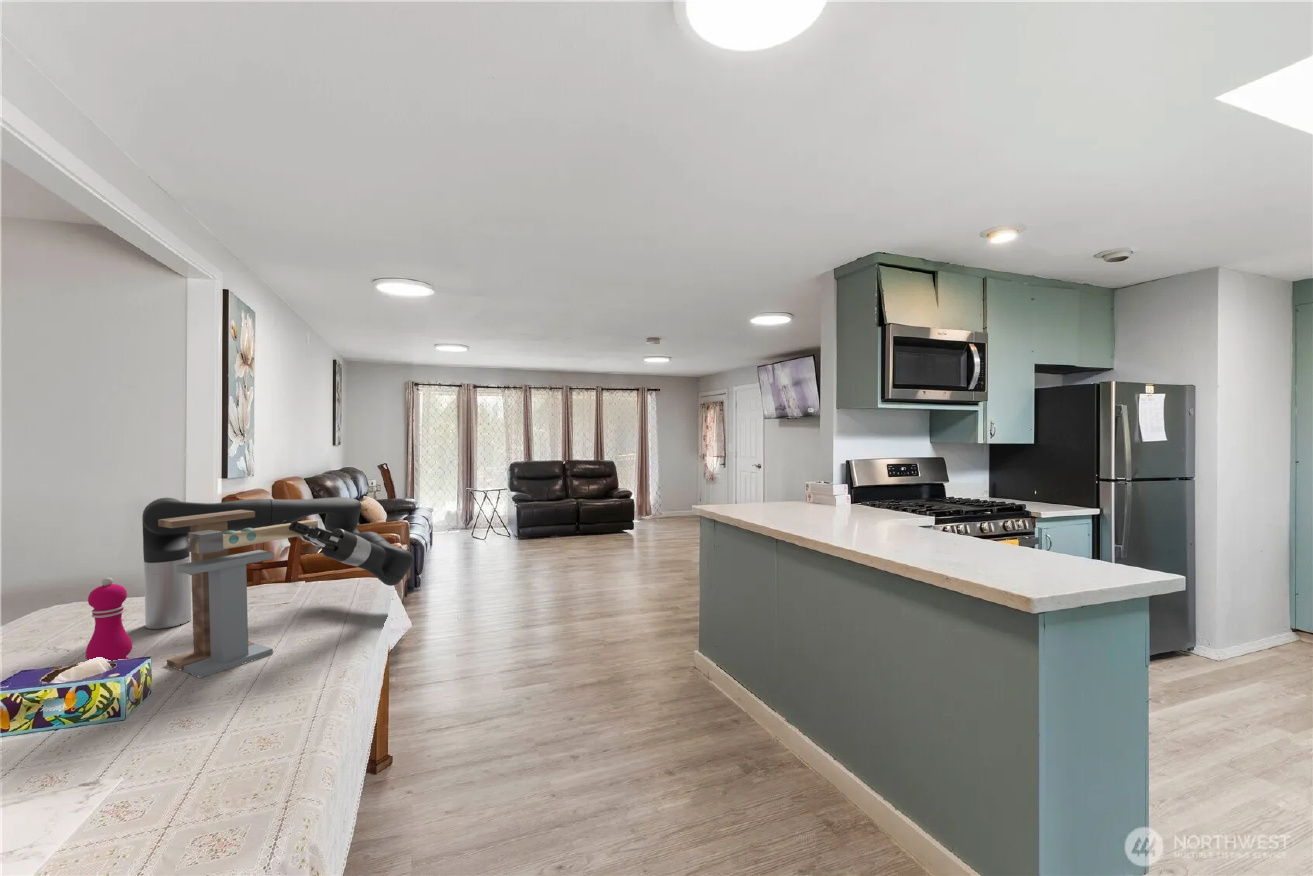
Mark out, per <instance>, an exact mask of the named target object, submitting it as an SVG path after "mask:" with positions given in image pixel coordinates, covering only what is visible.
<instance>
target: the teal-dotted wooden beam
mask: <svg viewBox="0 0 1313 876" xmlns="http://www.w3.org/2000/svg"><path fill="white" fill-rule="evenodd" d="M298 522H299V523H301V524H304V525H306V526H312V527H314V528H315V527H316V528H317V527H318V528H319V520H316V519H308V520H307V519H306V520H298ZM290 524H291V523H287V524H280V525H273V526H267V527H260V528H254V529H253V528H245V529H242V530H241V531H232V530H230V531H226V532H224V533H223V532H222V531H215V530H206V531H199V532H193V533H190V532H188V536H189V550H190V553H191V552H193V553H198V554H205V553H210V552H216V551H222V550H223V549H228V550H229V549H233V548H239V547H244V546H245V547H246V546H249V545H251V546H252V545H256V544H261V543H267V542H272V541H273V542H274V541H278V540H279V541H280V540H285V539H290V538H295V537H296V536H302V534H299V533H297V532H294V531H291V530H289V526H290ZM296 538H297V537H296Z"/></svg>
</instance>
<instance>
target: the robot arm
mask: <svg viewBox="0 0 1313 876" xmlns="http://www.w3.org/2000/svg"><path fill="white" fill-rule="evenodd" d="M361 503H362V502H361V501H359V500H358V499H356V498H352V497H344V496H342V497H341V496H340V497H339V496H336V497H321V498H320V497H319V498H305V499H304V498H303V499H301V498H300V499H284V498H283V499H281V498H280V499H278V498H277V499H276V498H275V499H274V498H253V499H251V498H249V499H247V498H246V499H240V500H239V499H238V500H231V501H230V500H229V501H223V502H216V503H213V502H212V503H210V502H208V503H207V502H206V503H205V502H189V501H188V502H187V501H181V500H179V499H177V498H174V497H173V498H172V497H161V498H160V497H159V498H157V499H155V500H153V501H151V502H149V503H148V504H147V505H146V507H144V509H143V512H142V517H141V519H142V540H143V541H142V544H143V545H142V548H143V549H142V550H143V552H142V553H143V572H144V573H143V574H144V604H145V605H144V609H145V611H144V612H145V613H144V617H145V628H146V629H149V630H159V629H167V628H172V627H177V626H181V625H184V624H186V623H189V622H190V621H191V620H192V581H191V575H189V574H185V573H180V572H176V565H179V564H184V563H190V562H191V552H190V550H189V533H190V526H185V527H178V528H167V527H160V526H158V520H160V519H168V518H177V517H185V516H193V515H202V514H210V513H218V512H227V511H235V510H248V511H255V517H253V518H245V519H238V520H230V521H227V528H228V531H230V530H232V531H241V530H242V529H245V528H253V529H254V528H260V527H267V526H273V525H280V524H287V523H291V524H290V526H289V530H291V531H294V532H297V533H299V534H302V536H296V538H298V539H301V540H302V541H303V542H308V543H311V545H313V546H316V547H321V553H322V555H323V556H324V557H326V558H329V559H332V560H334V561H337V562H340V563H343V564H344V565H345V564H346V565H350V566H354V567H357V568H359V569H362V570H364V571H367V572H369V573H370V574H372V575H373V576H375V577H376V579H378V580H379V581H380V582H381V583H383V584H384V585H386V586H389V587H391V586H396V585H398V584H400V582H401V581H402V580H403V579H404V577H405V576H406V575H407V573H408V572H409V570H410V569H411V568H412V566H413V564H414V561H415V557H414V555H413V554H412V552H410V551H409V550H407V549H404V548H401V547H398V546H395V545H394V544H391V543H390V542H389V541H388V540H386V539H385V538H384V537H383V536H382V535H380V534H379V533H377V532H374V531H363V532H360V531H359V529H358V527H357V526H358V524H359V519H360V513H361V510H362V509H361V508H362V504H361ZM321 514H325V516H324V517H325V519H324V528H325V529H323V528H321V527H319V526H318V527H317V528H316V527H315V528H314V527H312V526H306V525H304V524H301V523H299V521H301V520H302V519H304V518H306V517H309V516H314V515H321ZM188 621H189V622H188ZM180 624H181V625H180Z"/></svg>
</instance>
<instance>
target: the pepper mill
mask: <svg viewBox="0 0 1313 876" xmlns="http://www.w3.org/2000/svg"><path fill="white" fill-rule="evenodd" d="M87 597H88V598H87V603H88V605H89V606H91V608H93V609H92V610H91V613H92V614H91V618H94V630H93V634H92V635H91V638H90V640H89V641H88V644H87V646H86V650H85V660H86V661H88V660H89V659H93V658H96V657H103V658H105V659H108V660H111V661H113V660H118V659H130V660H131V658H130V657H129V656H128V655H129V654H130V653H131V652H132V650H133V641H132V638H131V637H130V636H129V634H128V632H127V631H126V630H125V627H124V625H123V619H122V616H123V613H124V612H125V609H124V608H125V605H124V604H123V603H124V602H125V601H126V599H127V597H128V592H127V589H126V588H125V587H124V586H123V585H120V584H117V583H114V579H113V578H112V577H105V578H103V579H102V580H101V585H100V586H99V585H98V587H95V588H94V589H92V590H91V592H90V593H89V595H88V596H87Z"/></svg>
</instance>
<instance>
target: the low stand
mask: <svg viewBox="0 0 1313 876" xmlns="http://www.w3.org/2000/svg"><path fill="white" fill-rule="evenodd" d="M272 559H275V552H273V551H267V550H261V549H257V550H252V551H246V552H240V553H235V554H234V553H233V554H230V555H229V554H228V556H223V557H217V558H212V559H206V560H201V561H195V562H191V561H190V563H184V564H179V565H176V572H180V573H185V574H189V575H190V576H192V574H197V573H203V572H208V574H209V612H210V649H211V658H207V659H204V660H201V661H198V662H195V663H191V664H188V665H185V666H184V671H185V672H184V671H183V672H184V673H186V672H188V673H187V674H189V673H191V674H193V675H192V676H194V675H195V676H194V677H196V676H199V677H200V679H201V677H202V678H204V677H203V676H205V677H208V676H211V675H214V674H217V673H220V672H222V671H226V670H228V669H232V668H234V666H235V667H238V666H240V664H241V665H243V664H242V663H244V664H246V663H245V662H247V663H250V662H252V661H251V660H253V661H255V660H254V659H256V660H258V659H262V658H264V656H265V657H267V655H268V656H270V655H273V654H274V651H273V648H272V647H269V646H266V645H263V644H259V643H257V642H256V643H255V642H254V643H255V644H252V645H249V646H248V641H249V628H248V627H249V624H248V622H249V621H248V620H249V619H248V586H247V585H248V583H247V580H248V579H247V578H248V577H247V565H248V564H251V563H252V564H253V563H257V562H262V561H267V560H268V561H269V560H272ZM261 657H262V658H261ZM249 661H250V662H249ZM216 672H217V673H216ZM213 673H214V674H213ZM191 674H190V675H191ZM199 677H198V678H199Z"/></svg>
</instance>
